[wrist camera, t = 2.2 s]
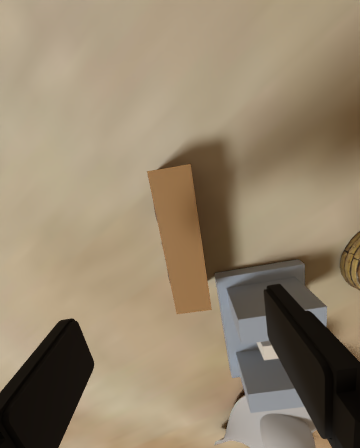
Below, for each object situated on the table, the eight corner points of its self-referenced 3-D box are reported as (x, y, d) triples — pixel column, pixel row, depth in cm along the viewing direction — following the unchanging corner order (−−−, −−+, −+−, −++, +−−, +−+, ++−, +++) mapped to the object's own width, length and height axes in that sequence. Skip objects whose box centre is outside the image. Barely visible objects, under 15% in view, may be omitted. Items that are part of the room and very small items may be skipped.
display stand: (214, 273, 23) (225, 308, 17) (298, 259, 22) (339, 290, 16) (229, 369, 27) (242, 422, 21) (300, 359, 26) (333, 412, 21)
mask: (202, 425, 31) (272, 440, 34) (213, 505, 24) (300, 514, 27) (275, 344, 25) (349, 370, 29) (316, 415, 18) (409, 440, 22)
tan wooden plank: (153, 171, 20) (144, 171, 15) (188, 165, 20) (190, 163, 15) (176, 284, 24) (174, 314, 19) (205, 280, 23) (211, 309, 19)
